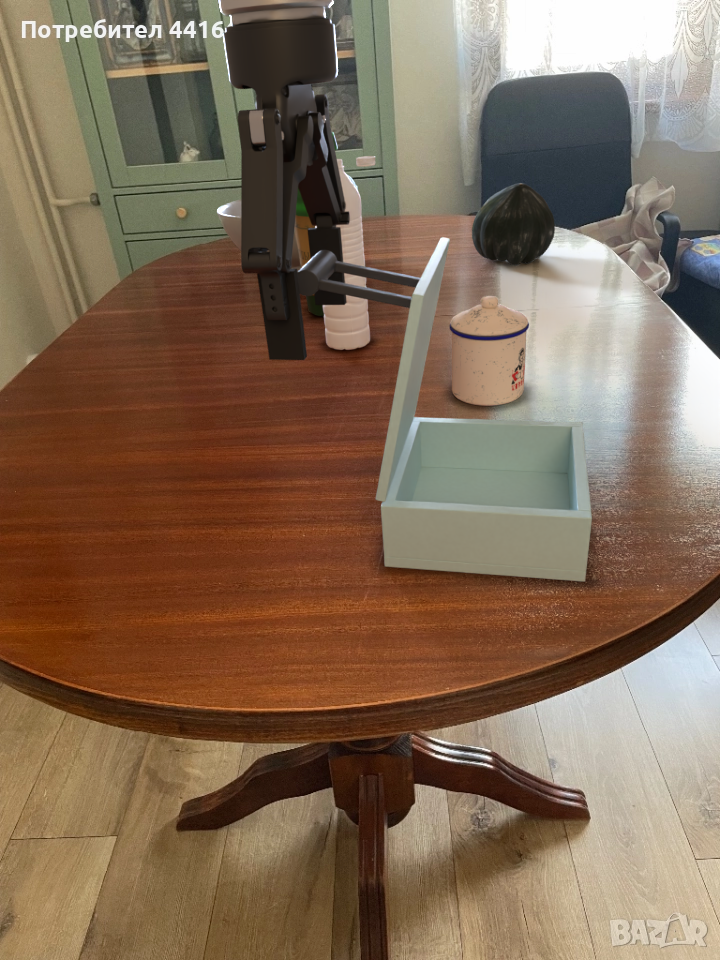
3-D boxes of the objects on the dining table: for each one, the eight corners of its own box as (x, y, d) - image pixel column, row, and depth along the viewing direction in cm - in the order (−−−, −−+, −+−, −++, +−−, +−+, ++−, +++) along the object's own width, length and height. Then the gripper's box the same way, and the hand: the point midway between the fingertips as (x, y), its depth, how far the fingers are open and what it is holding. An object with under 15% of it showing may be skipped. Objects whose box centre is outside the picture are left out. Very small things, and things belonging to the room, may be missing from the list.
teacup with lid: (529, 406, 84) (534, 308, 78) (450, 408, 85) (449, 312, 79) (519, 367, 94) (523, 277, 88) (449, 369, 95) (448, 281, 90)
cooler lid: (450, 238, 61) (332, 215, 62) (424, 295, 48) (274, 265, 49) (415, 413, 70) (313, 390, 71) (385, 502, 57) (260, 473, 58)
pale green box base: (577, 477, 70) (582, 421, 67) (585, 581, 57) (592, 518, 54) (413, 470, 74) (411, 416, 71) (384, 566, 60) (380, 506, 57)
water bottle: (322, 350, 105) (303, 163, 92) (331, 335, 110) (314, 156, 97) (381, 350, 103) (371, 160, 90) (388, 334, 109) (378, 153, 96)
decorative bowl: (201, 270, 150) (190, 209, 144) (303, 243, 164) (297, 186, 158) (279, 292, 132) (270, 223, 126) (385, 259, 147) (382, 196, 141)
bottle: (299, 305, 125) (278, 124, 110) (360, 297, 126) (347, 118, 112) (306, 324, 115) (284, 130, 101) (371, 315, 117) (359, 123, 102)
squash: (491, 218, 147) (478, 167, 134) (565, 223, 141) (560, 170, 128) (472, 279, 144) (457, 233, 131) (547, 287, 138) (539, 239, 125)
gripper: (279, 24, 59) (308, 285, 70) (141, 20, 39) (211, 388, 50) (369, 16, 58) (384, 284, 69) (274, 7, 37) (316, 390, 48)
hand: (311, 328), depth 59 cm, fingers open, 12 cm apart
